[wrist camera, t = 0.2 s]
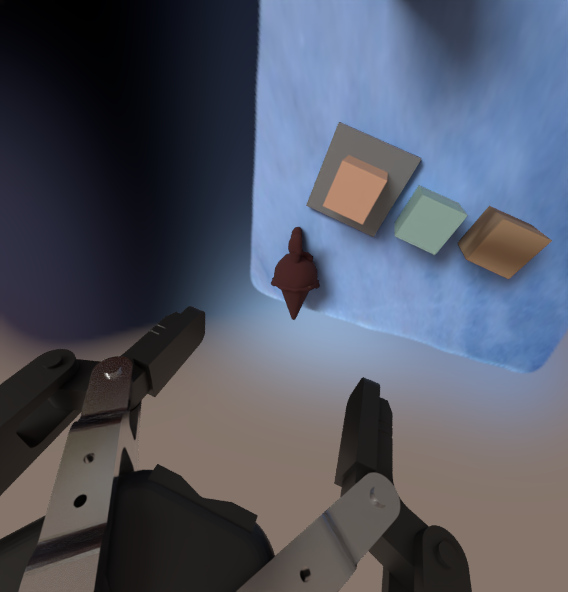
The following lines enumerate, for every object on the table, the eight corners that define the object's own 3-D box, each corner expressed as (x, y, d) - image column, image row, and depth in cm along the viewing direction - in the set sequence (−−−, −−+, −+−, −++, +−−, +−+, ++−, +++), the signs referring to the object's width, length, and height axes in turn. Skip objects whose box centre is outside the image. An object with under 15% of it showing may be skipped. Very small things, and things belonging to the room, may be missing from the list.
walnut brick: (489, 205, 30) (503, 218, 26) (530, 224, 29) (551, 240, 26) (457, 242, 33) (466, 259, 29) (494, 259, 33) (508, 279, 29)
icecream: (316, 333, 40) (326, 238, 33) (269, 330, 41) (268, 236, 33) (315, 309, 46) (323, 224, 39) (273, 307, 47) (274, 222, 39)
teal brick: (418, 184, 31) (422, 194, 27) (458, 202, 31) (467, 215, 27) (394, 222, 34) (394, 236, 30) (429, 239, 34) (434, 255, 30)
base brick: (348, 154, 31) (342, 160, 27) (387, 172, 30) (387, 180, 26) (330, 195, 34) (322, 205, 30) (365, 212, 33) (362, 224, 30)
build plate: (340, 122, 30) (338, 122, 29) (420, 157, 29) (421, 158, 29) (308, 203, 36) (306, 205, 35) (373, 234, 36) (373, 237, 35)
